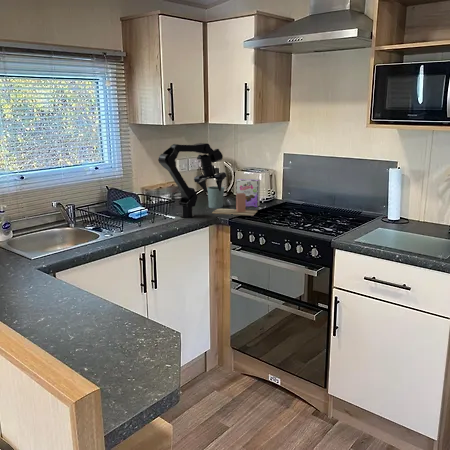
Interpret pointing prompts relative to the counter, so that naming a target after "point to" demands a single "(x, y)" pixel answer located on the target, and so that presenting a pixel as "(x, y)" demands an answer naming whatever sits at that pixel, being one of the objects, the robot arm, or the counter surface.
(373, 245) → the counter surface
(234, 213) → the board
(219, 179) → the robot arm
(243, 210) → the painted block
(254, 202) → the candy box
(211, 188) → the teal cup
